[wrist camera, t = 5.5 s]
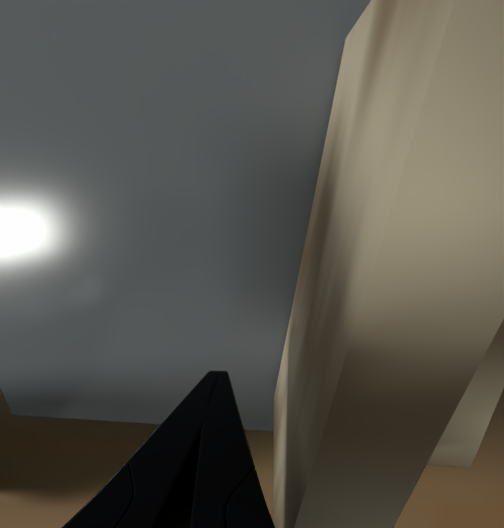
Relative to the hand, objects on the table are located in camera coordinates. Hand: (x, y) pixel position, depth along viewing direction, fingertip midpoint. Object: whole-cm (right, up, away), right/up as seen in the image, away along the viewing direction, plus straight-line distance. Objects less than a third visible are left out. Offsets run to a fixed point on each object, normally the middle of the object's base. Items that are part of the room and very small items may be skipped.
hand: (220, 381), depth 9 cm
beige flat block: (+4, +4, +1) cm, 5 cm away
